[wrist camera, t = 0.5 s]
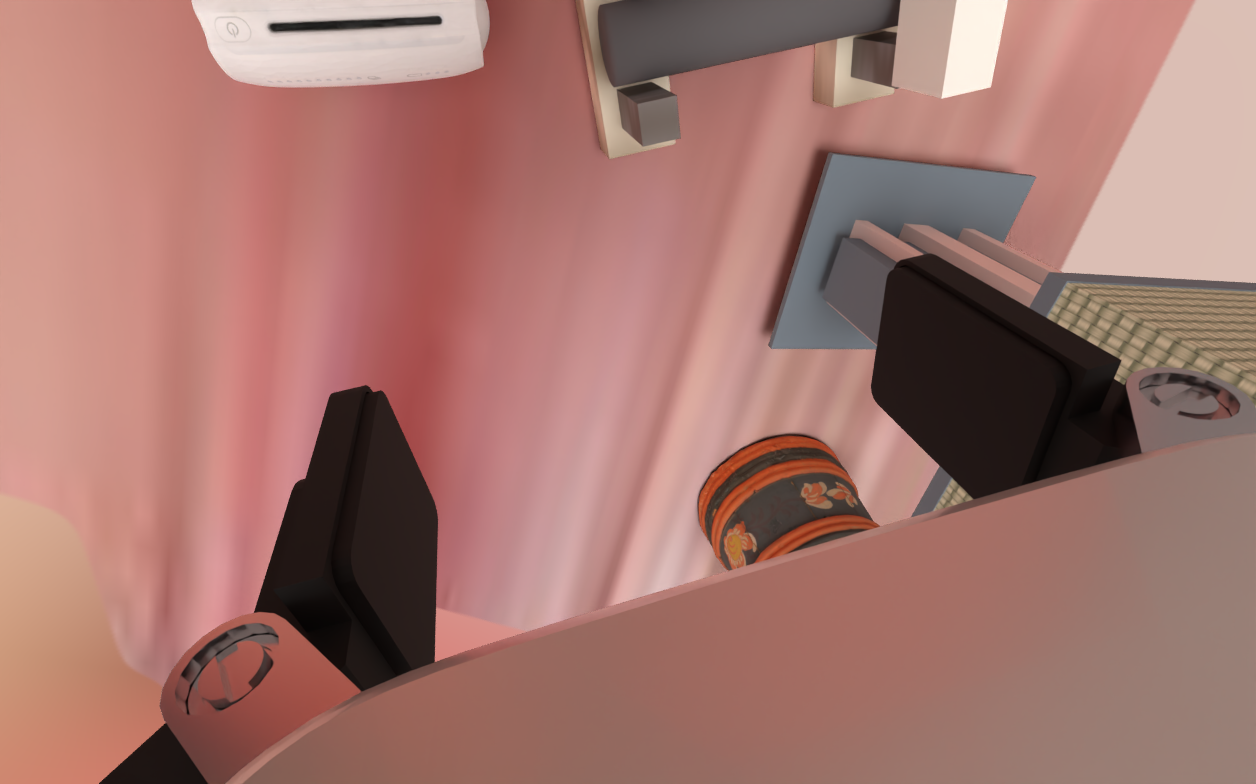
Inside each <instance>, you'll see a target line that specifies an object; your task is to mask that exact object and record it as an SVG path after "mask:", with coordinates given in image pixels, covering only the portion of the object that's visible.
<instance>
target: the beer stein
mask: <svg viewBox="0 0 1256 784" xmlns="http://www.w3.org/2000/svg"><path fill="white" fill-rule="evenodd" d="M698 506H699V520H700V526H701V527H702V530H703V532H704V534H705V536H706V537H707V539H708V540H709V542H710V544H711V545H712V547H713V549H714V552H715V555H716V557H717V558H718V559H719V561H720V562H721V564H722V565H723V566H724V567H725V568H726V569H727V570H728V571H730V570H734V569H737V568H740V567H744V566H747V565H751V564H754V563H757V562H761V561H764V560H768V559H771V558H774V557H778V556H781V555H785V554H788V553H791V552H795V551H798V550H802V549H805V548H809V547H812V546H815V545H819V544H822V543H826V542H829V541H832V540H836V539H839V538H843V537H846V536H850V535H853V534H856V533H860V532H863V531H867V530H870V529H874V528H877V527H880V526H879V525H878V524H877V523H875V522H874V521H873V520H872V518H871V517H870V515H869V513H868V512H867V510H866V509H865V507H864V506H863V504H862V503H861V501H860V499H859V498H858V491H857V488H856V486H855V484H854V483H853V482H852V480H851V478H850V477H849V475H848V473H847V471H846V470H845V469H844V468H843V466H842V465H841V464H840V462H839V461H838V458H837V456H836V455H835V454H834V452H833V451H832V450H831V449H830V448H829V447H827V446H826V445H825V444H823V443H821V442H819V441H817V440H814V439H811V438H807V437H804V436H793V435H784V436H778V437H775V438H770V439H767V440H764V441H762V442H759V443H755V444H753V445H751V446H749V447H747V448H745V449H742V450H740V451H739V452H737V453H736V454H735V455H733V456H732V457H731V458H730V459H729V460H728V461H727V462H726V463H724V464H723V465H721V466H720V467H719V468H718V469H717V470H716V471H715V472H713V473H712V474H711V476H710V478H709V479H708V480H707V482H706V484H705V486H704V488H703V489H702V491H701V493H700V496H699V504H698Z"/></svg>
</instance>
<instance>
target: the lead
mask: <svg viewBox="0 0 1256 784" xmlns="http://www.w3.org/2000/svg"><path fill="white" fill-rule="evenodd" d="M900 1H901V0H621V1H616V2H611V3H607V4H602V5H600V6H599V9H598V30H599V39H600V46H601V51H602V56H603V61H604V65H605V69H606V72H607V75H608V78H609V81H610V83H611V85H612V86H613V87H618V86H623V85H628V84H632V83H637V82H641V81H646V80H651V79H655V78H660V77H664V76H669V75H674V74H678V73H683V72H688V71H692V70H697V69H701V68H706V67H711V66H715V65H720V64H724V63H729V62H734V61H738V60H743V59H747V58H752V57H757V56H761V55H766V54H770V53H775V52H780V51H784V50H789V49H793V48H798V47H803V46H807V45H812V44H817V43H821V42H826V41H830V40H835V39H840V38H844V37H849V36H853V35H858V34H863V33H867V32H872V31H876V30H881V29H886V28H890V27H895V26H898V20H899V11H900Z"/></svg>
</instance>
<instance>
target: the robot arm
mask: <svg viewBox="0 0 1256 784" xmlns="http://www.w3.org/2000/svg"><path fill="white" fill-rule="evenodd" d="M1121 361H1122V360H1121V359H1119V358H1117V357H1115V356H1113V355H1112V354H1110V353H1108V352H1106V351H1105V350H1103V349H1101V348H1099V347H1098V346H1096V345H1094V344H1092V343H1090V342H1089V341H1087V340H1085V339H1083V338H1082V337H1080V336H1078V335H1076V334H1075V333H1073V332H1071V331H1069V330H1068V329H1066V328H1064V327H1062V326H1060V325H1059V324H1057V323H1055V322H1053V321H1052V320H1050V319H1048V318H1046V317H1045V316H1043V315H1041V314H1039V313H1037V312H1036V311H1034V310H1032V309H1030V308H1029V307H1027V306H1025V305H1023V304H1022V303H1020V302H1018V301H1016V300H1015V299H1013V298H1011V297H1009V296H1007V295H1006V294H1004V293H1002V292H1000V291H999V290H997V289H995V288H993V287H992V286H990V285H988V284H986V283H984V282H983V281H981V280H979V279H977V278H976V277H974V276H972V275H970V274H969V273H967V272H965V271H963V270H961V269H960V268H958V267H956V266H954V265H953V264H951V263H949V262H947V261H946V260H944V259H942V258H940V257H939V256H937V255H935V254H931V253H929V254H924V255H920V256H915V257H911V258H907V259H902V260H900V261H898V262H897V263H896V265H895V267H894V269H893V270H891V271H890V272H889V273H888V275H887V279H886V286H885V293H884V300H883V307H882V314H881V321H880V327H879V334H878V341H877V348H876V355H875V362H874V369H873V376H872V383H871V390H872V395H873V398H874V400H875V401H876V403H877V404H878V405H879V406H880V407H881V408H882V409H883V410H884V411H885V412H886V413H887V414H888V415H889V416H890V417H891V418H892V419H893V420H894V421H895V422H896V423H897V424H898V425H899V426H900V427H901V428H902V429H903V430H904V431H905V432H906V433H907V434H908V435H909V436H910V437H911V438H912V439H913V440H914V441H915V442H916V443H917V444H918V445H919V446H920V447H921V448H922V449H923V450H924V451H925V452H926V453H927V454H928V455H929V456H930V457H931V458H932V459H933V460H934V461H935V462H936V463H937V464H938V465H939V466H940V467H941V468H942V469H943V470H944V471H946V472H947V473H948V474H949V475H950V476H951V477H952V478H953V479H954V480H955V481H956V482H957V483H958V484H959V485H960V486H961V487H962V488H963V489H964V490H965V491H966V492H967V493H968V494H969V495H970V496H971V497H972V498H973V499H974V500H971V501H967V502H964V503H960V504H957V505H953V506H950V507H946V508H943V509H939V510H936V511H932V512H929V513H925V514H922V515H918V516H915V517H911V518H908V519H904V520H901V521H898V522H894V523H891V524H887V525H884V526H880V527H877V528H874V529H870V530H867V531H863V532H860V533H856V534H853V535H850V536H846V537H843V538H839V539H836V540H832V541H829V542H826V543H822V544H819V545H815V546H812V547H809V548H805V549H802V550H798V551H795V552H791V553H788V554H785V555H781V556H778V557H774V558H771V559H768V560H764V561H761V562H757V563H754V564H751V565H747V566H744V567H740V568H737V569H734V570H730V571H727V572H724V573H720V574H717V575H714V576H710V577H707V578H703V579H700V580H697V581H693V582H690V583H687V584H683V585H680V586H677V587H673V588H670V589H667V590H663V591H660V592H657V593H653V594H650V595H647V596H643V597H640V598H637V599H633V600H630V601H626V602H623V603H620V604H616V605H613V606H610V607H606V608H603V609H600V610H596V611H593V612H590V613H586V614H583V615H580V616H576V617H573V618H570V619H567V620H563V621H560V622H557V623H554V624H551V625H548V626H544V627H541V628H538V629H535V630H532V631H529V632H525V633H522V634H519V635H516V636H513V637H510V638H506V639H503V640H500V641H497V642H494V643H490V644H487V645H484V646H481V647H478V648H475V649H471V650H468V651H465V652H462V653H459V654H457V655H454V656H451V657H448V658H445V659H443V660H440V661H437V662H435V621H436V620H435V619H436V618H435V617H436V579H437V537H438V516H437V510H436V506H435V502H434V500H433V497H432V495H431V493H430V491H429V489H428V486H427V484H426V482H425V480H424V478H423V476H422V473H421V471H420V469H419V467H418V465H417V462H416V460H415V458H414V456H413V454H412V452H411V449H410V447H409V445H408V443H407V441H406V438H405V436H404V434H403V432H402V430H401V427H400V425H399V423H398V421H397V419H396V417H395V414H394V412H393V410H392V408H391V406H390V403H389V401H388V399H387V397H386V395H385V394H384V392H383V391H377V392H372V390H371V389H370V387H368V386H367V385H365V386H361V387H356V388H352V389H348V390H344V391H339V392H335V393H332V394H331V395H330V397H329V400H328V403H327V407H326V410H325V413H324V417H323V420H322V424H321V427H320V431H319V434H318V437H317V441H316V444H315V448H314V451H313V455H312V458H311V461H310V465H309V468H308V472H307V475H306V479H303V480H300V481H298V482H297V483H296V484H295V486H294V488H293V490H292V492H291V495H290V498H289V502H288V505H287V508H286V511H285V515H284V518H283V521H282V524H281V527H280V531H279V534H278V537H277V540H276V544H275V547H274V550H273V553H272V556H271V560H270V563H269V566H268V569H267V572H266V576H265V579H264V582H263V585H262V589H261V592H260V595H259V598H258V601H257V605H256V608H255V611H254V613H252V614H247V615H243V616H239V617H237V618H235V619H233V620H230V621H228V622H226V623H223V624H221V625H220V626H218V627H217V628H215V629H214V630H212V631H211V632H209V633H208V634H206V635H205V636H203V637H202V638H201V639H200V640H199V641H197V642H196V643H195V644H194V645H193V646H192V647H191V648H190V649H189V650H188V651H187V652H185V654H184V655H183V656H182V657H181V659H180V660H179V661H178V663H177V664H176V665H175V666H174V668H173V669H172V670H171V672H170V674H169V676H168V678H167V680H166V682H165V684H164V687H163V689H162V694H161V701H160V709H161V712H162V715H163V718H164V721H165V722H166V723H165V724H164V725H163V726H162V727H161V728H160V729H159V730H158V731H156V732H155V733H154V734H153V735H152V736H151V737H150V738H149V739H147V740H146V741H145V742H144V743H143V744H142V745H141V746H140V747H139V748H138V749H137V750H135V751H134V752H133V753H132V754H131V755H130V756H129V757H128V758H127V759H125V760H124V761H123V762H122V763H121V764H120V765H119V766H118V767H117V768H116V769H115V770H113V771H112V772H111V773H110V774H109V775H108V776H107V777H106V778H104V779H103V780H102V781H101V782H100V783H99V784H1256V407H1255V405H1254V403H1253V402H1252V401H1251V400H1250V398H1249V397H1248V396H1247V395H1246V394H1245V393H1244V392H1242V391H1241V390H1239V389H1238V388H1236V387H1235V386H1234V385H1232V384H1229V383H1227V382H1225V381H1223V380H1221V379H1219V378H1217V377H1214V376H1210V375H1207V374H1204V373H1201V372H1198V371H1192V370H1187V369H1182V368H1172V367H1154V368H1145V369H1142V370H1139V371H1136V372H1133V373H1132V374H1131V375H1130V376H1129V377H1128V378H1127V380H1126V382H1125V384H1122V383H1120V382H1119V381H1117V380H1115V379H1114V377H1115V375H1116V373H1117V371H1118V368H1119V366H1120V364H1121Z"/></svg>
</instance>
